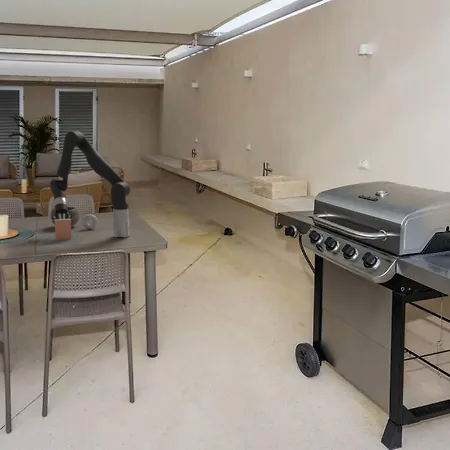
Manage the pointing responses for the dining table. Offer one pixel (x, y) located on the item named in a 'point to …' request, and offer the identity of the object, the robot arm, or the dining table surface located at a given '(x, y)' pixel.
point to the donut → (91, 217)
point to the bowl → (71, 211)
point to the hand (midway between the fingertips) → (63, 230)
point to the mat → (74, 241)
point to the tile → (63, 229)
